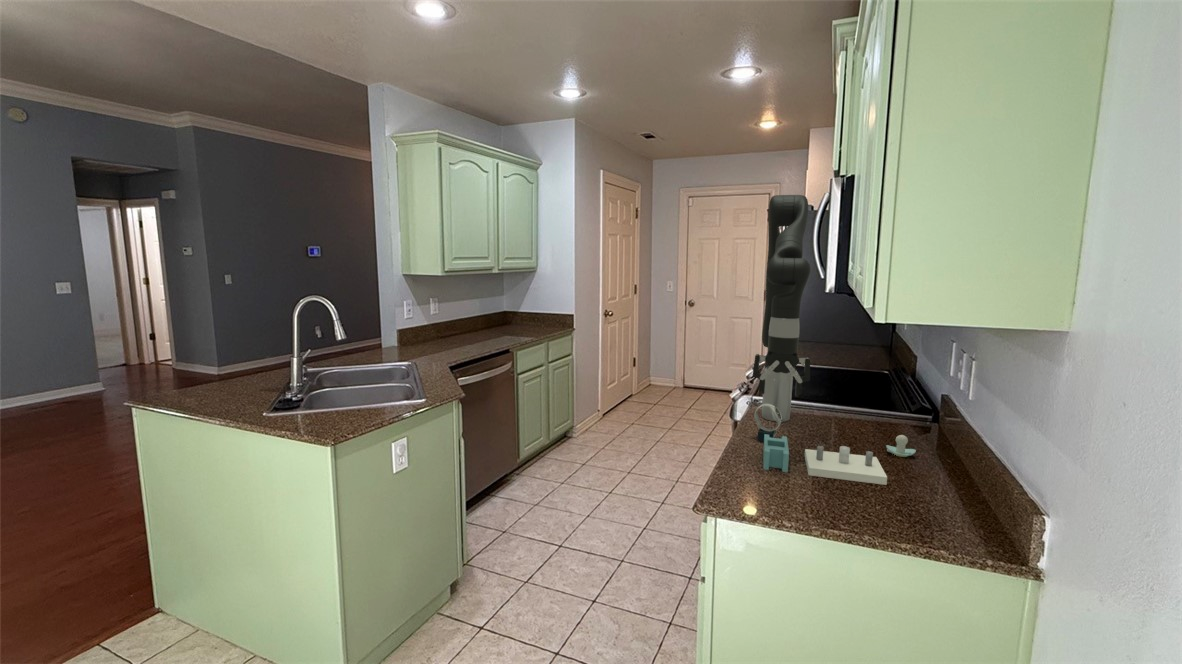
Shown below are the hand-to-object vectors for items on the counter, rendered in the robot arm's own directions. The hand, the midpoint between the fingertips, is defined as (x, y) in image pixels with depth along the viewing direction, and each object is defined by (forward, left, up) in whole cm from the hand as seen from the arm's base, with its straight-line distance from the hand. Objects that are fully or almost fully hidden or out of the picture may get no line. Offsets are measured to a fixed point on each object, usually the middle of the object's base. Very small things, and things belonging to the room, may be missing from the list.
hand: (779, 394), depth 147 cm
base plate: (0, +17, -19) cm, 25 cm away
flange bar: (0, 0, -19) cm, 19 cm away
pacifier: (-17, +34, -19) cm, 43 cm away
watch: (-17, -2, -19) cm, 25 cm away
